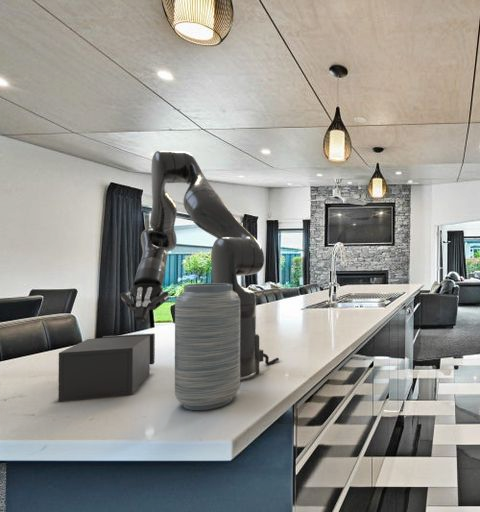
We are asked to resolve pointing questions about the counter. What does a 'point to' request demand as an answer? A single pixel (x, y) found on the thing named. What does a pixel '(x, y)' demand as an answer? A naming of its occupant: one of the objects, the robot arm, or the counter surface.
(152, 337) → the dark grey drawer
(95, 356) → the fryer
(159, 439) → the counter surface
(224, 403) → the vase
